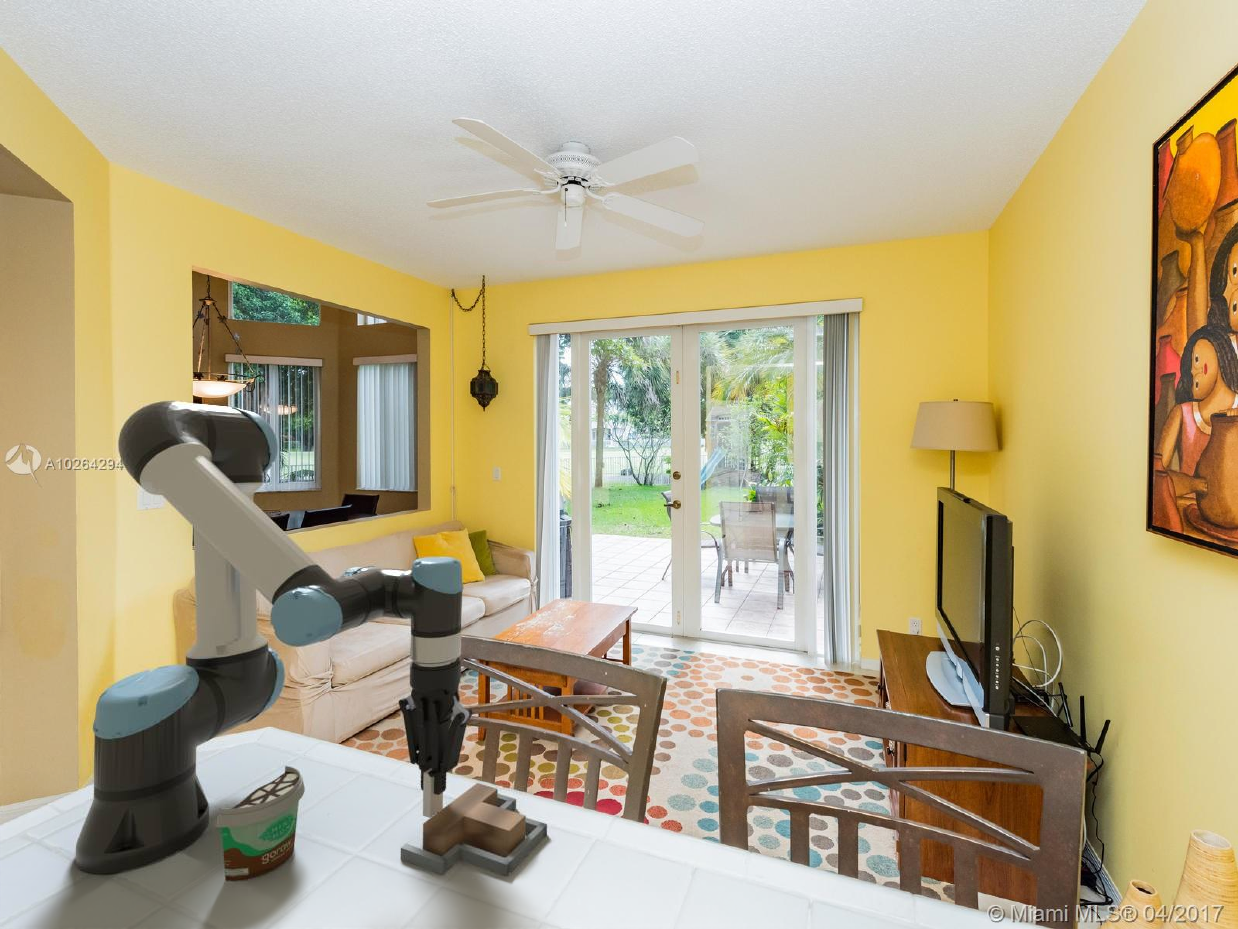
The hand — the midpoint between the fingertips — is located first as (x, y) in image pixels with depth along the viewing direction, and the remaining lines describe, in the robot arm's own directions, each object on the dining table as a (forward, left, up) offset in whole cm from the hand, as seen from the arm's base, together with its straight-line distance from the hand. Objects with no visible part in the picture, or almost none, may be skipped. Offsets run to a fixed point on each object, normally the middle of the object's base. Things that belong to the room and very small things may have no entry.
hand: (432, 812), depth 90 cm
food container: (-14, -16, -2) cm, 21 cm away
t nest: (+10, 0, -2) cm, 10 cm away
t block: (+10, 0, -2) cm, 10 cm away
